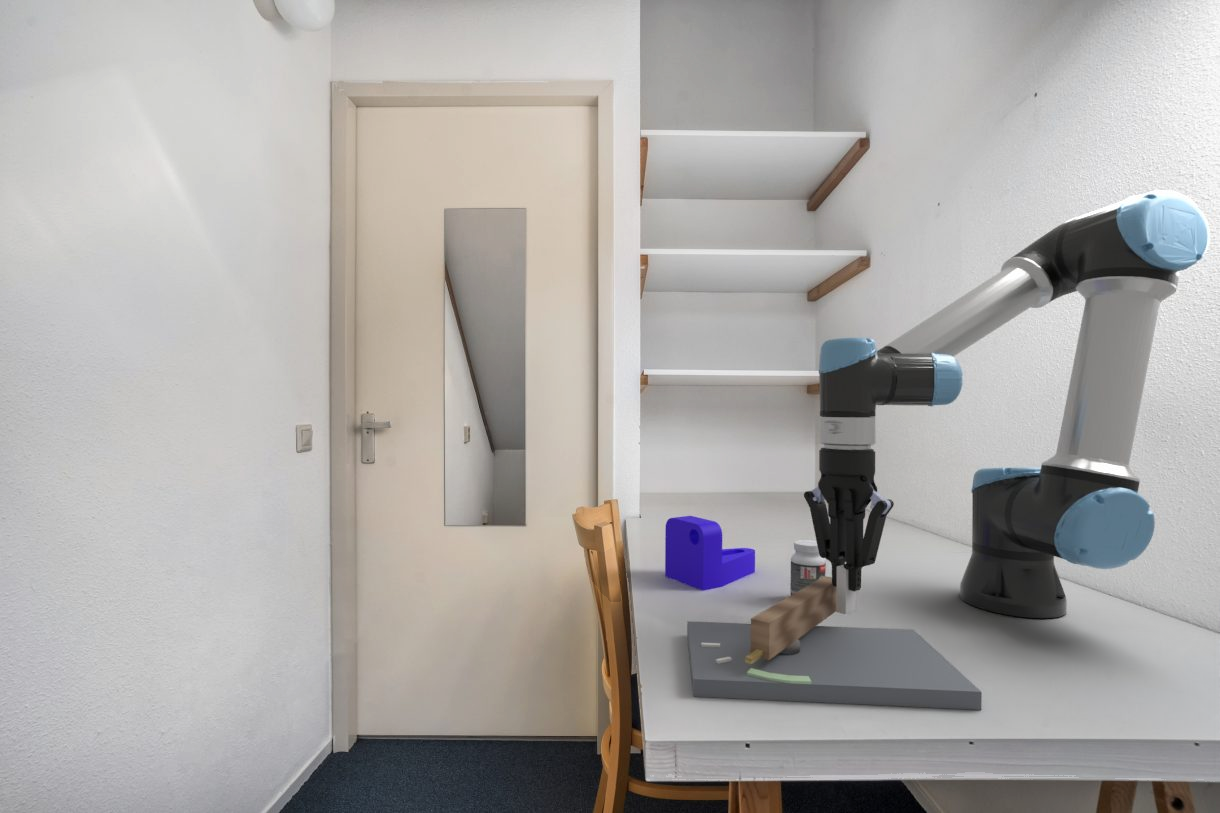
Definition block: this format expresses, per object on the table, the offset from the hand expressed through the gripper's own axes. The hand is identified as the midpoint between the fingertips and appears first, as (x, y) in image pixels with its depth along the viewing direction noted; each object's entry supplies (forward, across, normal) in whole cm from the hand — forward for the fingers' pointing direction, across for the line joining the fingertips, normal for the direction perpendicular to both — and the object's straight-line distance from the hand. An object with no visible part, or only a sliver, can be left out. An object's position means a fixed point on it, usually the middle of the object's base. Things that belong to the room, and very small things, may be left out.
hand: (846, 611), depth 90 cm
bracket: (+4, -33, +10) cm, 35 cm away
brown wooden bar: (+2, -1, -11) cm, 11 cm away
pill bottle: (+4, -13, +10) cm, 17 cm away
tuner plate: (+4, +3, -12) cm, 13 cm away
